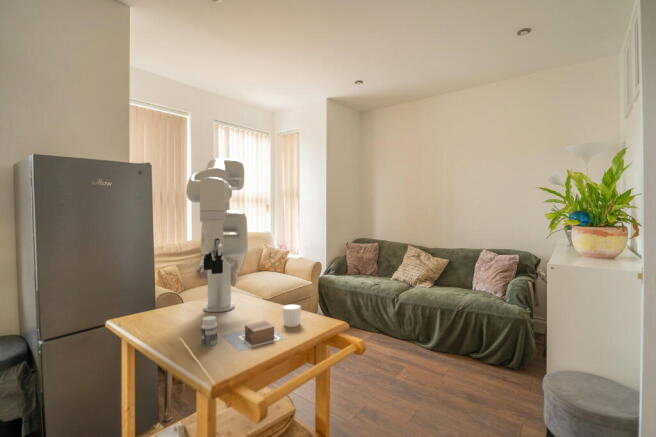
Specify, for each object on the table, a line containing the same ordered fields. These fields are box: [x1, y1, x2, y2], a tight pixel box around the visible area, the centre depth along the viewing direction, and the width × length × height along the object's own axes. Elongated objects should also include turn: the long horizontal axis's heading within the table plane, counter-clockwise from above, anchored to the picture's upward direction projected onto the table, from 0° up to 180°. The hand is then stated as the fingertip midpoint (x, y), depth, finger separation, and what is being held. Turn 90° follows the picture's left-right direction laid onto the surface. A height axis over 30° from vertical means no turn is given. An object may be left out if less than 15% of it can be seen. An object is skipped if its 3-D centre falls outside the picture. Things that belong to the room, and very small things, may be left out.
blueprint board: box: [221, 329, 287, 352], centre depth 104 cm, size 15×16×1 cm
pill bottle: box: [200, 315, 219, 347], centre depth 99 cm, size 5×5×8 cm
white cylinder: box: [281, 303, 302, 328], centre depth 116 cm, size 7×7×7 cm
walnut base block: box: [244, 320, 275, 344], centre depth 103 cm, size 7×7×4 cm
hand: (212, 271), depth 100 cm, fingers open, 9 cm apart
